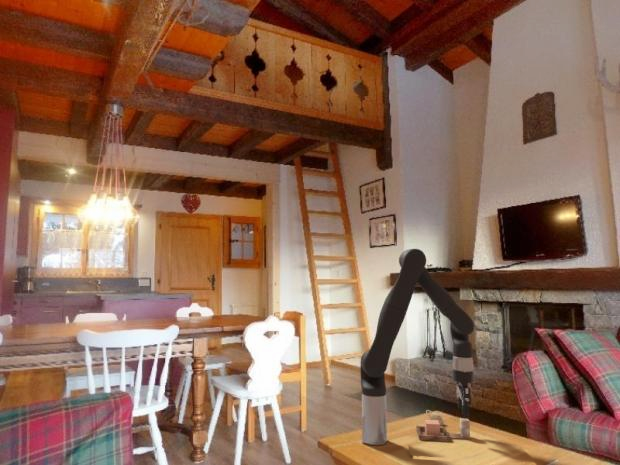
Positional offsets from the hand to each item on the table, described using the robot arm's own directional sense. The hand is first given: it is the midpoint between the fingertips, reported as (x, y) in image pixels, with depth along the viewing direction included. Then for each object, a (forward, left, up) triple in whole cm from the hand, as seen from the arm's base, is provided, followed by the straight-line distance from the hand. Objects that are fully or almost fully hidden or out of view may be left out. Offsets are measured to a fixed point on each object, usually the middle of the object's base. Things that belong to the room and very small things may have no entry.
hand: (463, 412), depth 165 cm
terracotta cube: (-12, 0, -9) cm, 15 cm away
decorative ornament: (-8, +16, -11) cm, 21 cm away
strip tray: (-8, 0, -10) cm, 13 cm away
